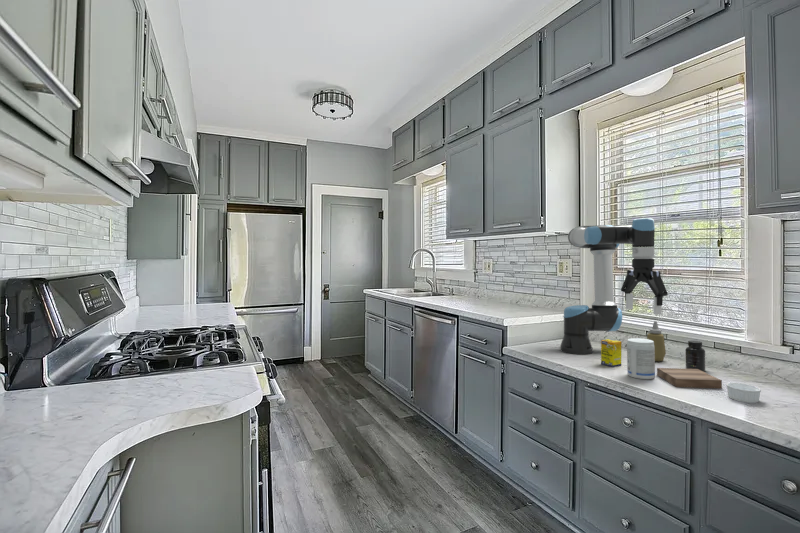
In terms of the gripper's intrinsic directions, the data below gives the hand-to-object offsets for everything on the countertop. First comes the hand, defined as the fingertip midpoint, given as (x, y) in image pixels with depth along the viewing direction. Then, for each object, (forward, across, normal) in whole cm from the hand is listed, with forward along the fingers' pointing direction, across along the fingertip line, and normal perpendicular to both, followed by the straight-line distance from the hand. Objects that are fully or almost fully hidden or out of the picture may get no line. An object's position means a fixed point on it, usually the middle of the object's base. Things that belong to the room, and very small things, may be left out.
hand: (642, 311), depth 158 cm
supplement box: (+27, -20, +2) cm, 33 cm away
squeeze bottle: (+27, -21, +28) cm, 44 cm away
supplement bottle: (+27, -4, +30) cm, 41 cm away
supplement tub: (+27, -2, +1) cm, 27 cm away
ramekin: (+26, +28, +14) cm, 41 cm away
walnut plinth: (+26, +8, +13) cm, 30 cm away
